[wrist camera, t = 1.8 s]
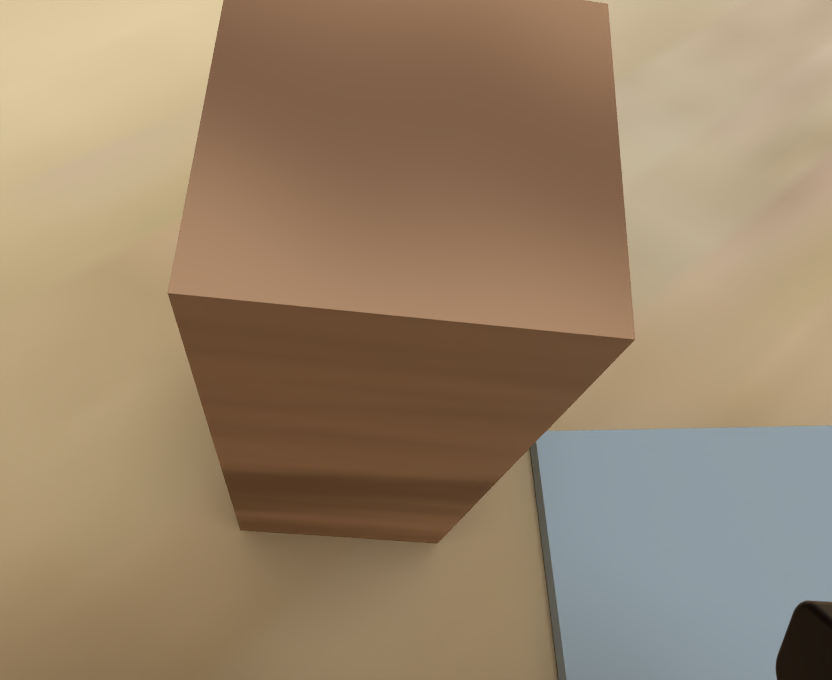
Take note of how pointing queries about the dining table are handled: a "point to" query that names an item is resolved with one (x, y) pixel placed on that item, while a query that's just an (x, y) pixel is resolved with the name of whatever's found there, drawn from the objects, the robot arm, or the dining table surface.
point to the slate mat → (681, 547)
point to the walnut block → (398, 252)
